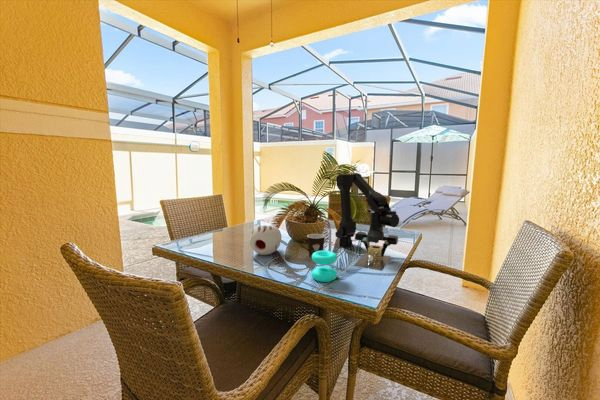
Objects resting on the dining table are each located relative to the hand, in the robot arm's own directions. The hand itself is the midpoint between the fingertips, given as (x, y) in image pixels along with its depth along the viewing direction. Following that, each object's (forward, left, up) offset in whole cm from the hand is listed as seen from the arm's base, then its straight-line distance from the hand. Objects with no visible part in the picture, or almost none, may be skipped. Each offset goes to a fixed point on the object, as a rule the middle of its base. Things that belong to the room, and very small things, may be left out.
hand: (375, 255), depth 128 cm
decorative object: (-51, +14, -2) cm, 53 cm away
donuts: (-26, -18, -3) cm, 32 cm away
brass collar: (0, 0, -1) cm, 1 cm away
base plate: (-2, -4, -2) cm, 6 cm away
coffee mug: (-28, +9, -2) cm, 30 cm away
